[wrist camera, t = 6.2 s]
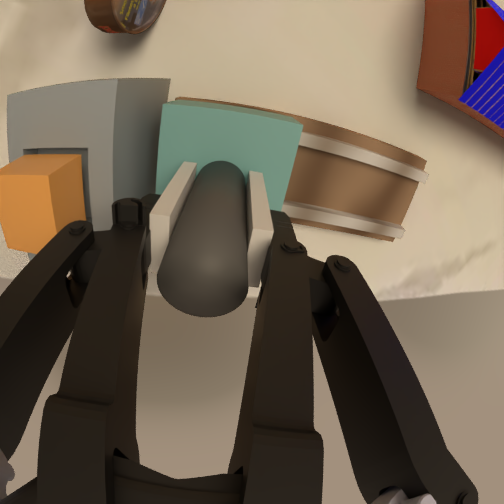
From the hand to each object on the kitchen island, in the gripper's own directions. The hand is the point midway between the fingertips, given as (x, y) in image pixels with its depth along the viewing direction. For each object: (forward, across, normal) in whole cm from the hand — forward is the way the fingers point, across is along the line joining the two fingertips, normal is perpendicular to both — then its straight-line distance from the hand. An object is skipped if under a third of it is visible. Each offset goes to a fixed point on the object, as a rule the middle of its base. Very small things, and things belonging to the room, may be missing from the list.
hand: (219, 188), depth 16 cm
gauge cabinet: (+8, -10, 0) cm, 12 cm away
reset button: (-3, -10, 0) cm, 10 cm away
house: (+8, +24, +17) cm, 31 cm away
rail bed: (+8, +6, 0) cm, 10 cm away
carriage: (+5, 0, 0) cm, 5 cm away
